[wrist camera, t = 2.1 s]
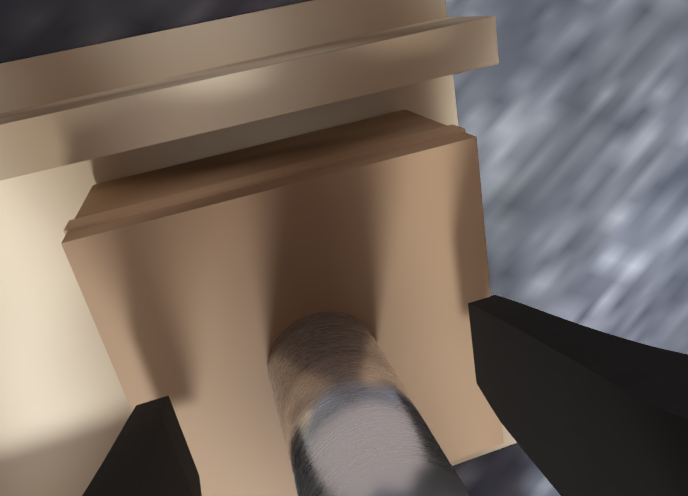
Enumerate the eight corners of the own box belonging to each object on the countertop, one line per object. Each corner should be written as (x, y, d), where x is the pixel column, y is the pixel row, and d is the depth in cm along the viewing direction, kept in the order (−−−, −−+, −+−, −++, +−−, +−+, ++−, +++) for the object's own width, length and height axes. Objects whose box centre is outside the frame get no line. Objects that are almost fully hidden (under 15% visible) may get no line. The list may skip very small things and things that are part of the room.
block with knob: (188, 442, 17) (194, 796, 9) (90, 183, 14) (-31, 395, 6) (441, 360, 18) (633, 610, 10) (407, 107, 15) (648, 198, 7)
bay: (-125, 599, 17) (-192, 727, 14) (-472, 159, 12) (-710, 208, 9) (474, 397, 21) (526, 464, 18) (427, -23, 15) (491, -35, 12)
